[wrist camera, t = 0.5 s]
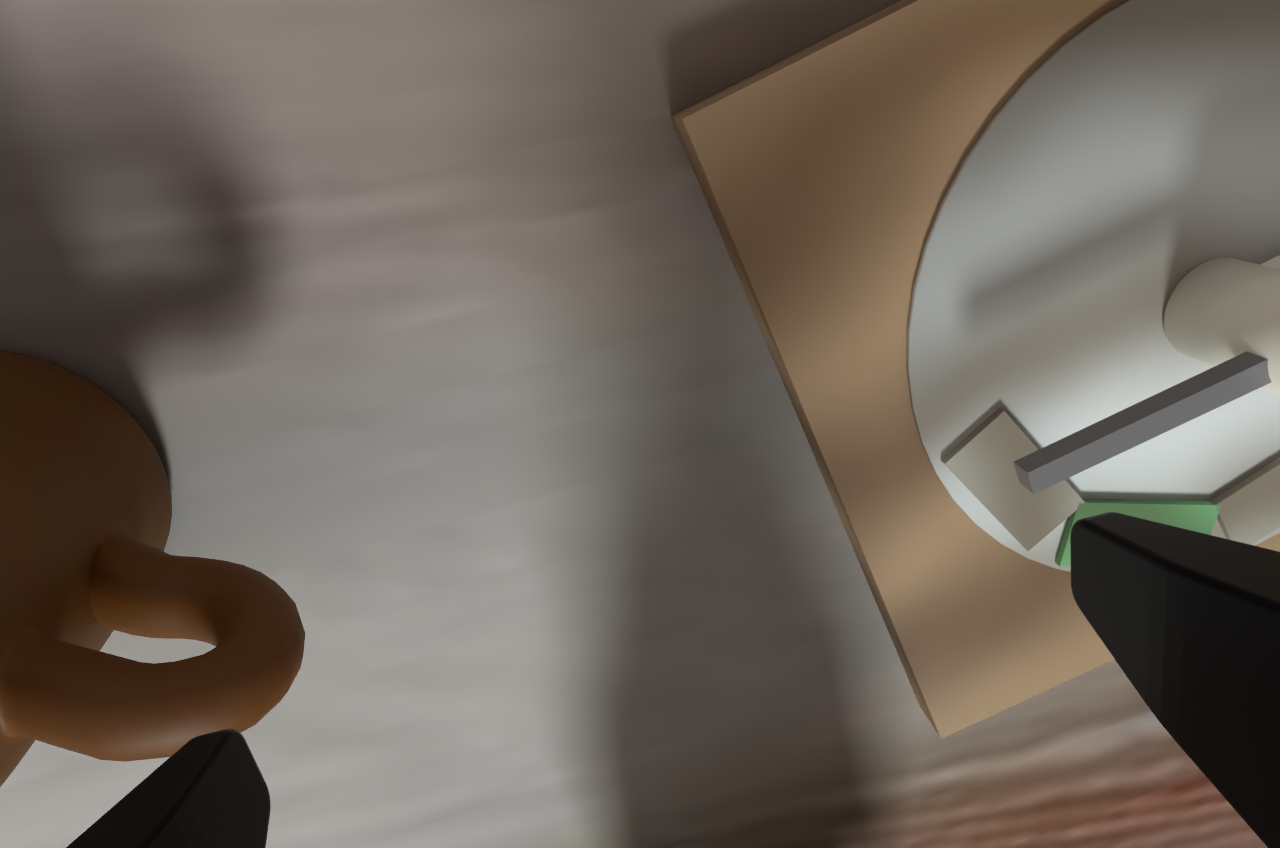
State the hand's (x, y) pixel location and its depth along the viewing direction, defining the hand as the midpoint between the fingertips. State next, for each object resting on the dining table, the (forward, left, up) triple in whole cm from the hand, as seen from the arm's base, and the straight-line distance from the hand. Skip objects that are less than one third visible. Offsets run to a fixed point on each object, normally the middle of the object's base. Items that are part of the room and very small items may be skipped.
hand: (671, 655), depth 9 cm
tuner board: (-7, -15, -14) cm, 21 cm away
